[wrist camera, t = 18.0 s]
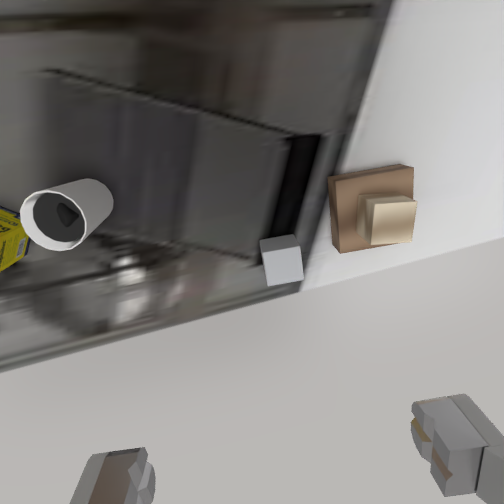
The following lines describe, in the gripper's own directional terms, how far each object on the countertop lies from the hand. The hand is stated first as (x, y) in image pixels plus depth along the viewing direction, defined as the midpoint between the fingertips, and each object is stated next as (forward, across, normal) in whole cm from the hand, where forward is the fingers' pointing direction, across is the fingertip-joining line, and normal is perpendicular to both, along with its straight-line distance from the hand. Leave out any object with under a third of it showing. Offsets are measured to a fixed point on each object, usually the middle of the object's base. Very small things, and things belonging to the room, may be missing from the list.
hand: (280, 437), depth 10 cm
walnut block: (+38, -17, +5) cm, 41 cm away
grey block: (+37, -4, +10) cm, 39 cm away
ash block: (+34, -17, +5) cm, 38 cm away
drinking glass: (+37, +20, -2) cm, 42 cm away
